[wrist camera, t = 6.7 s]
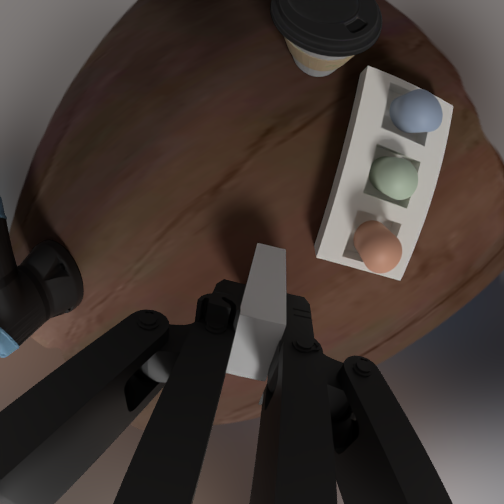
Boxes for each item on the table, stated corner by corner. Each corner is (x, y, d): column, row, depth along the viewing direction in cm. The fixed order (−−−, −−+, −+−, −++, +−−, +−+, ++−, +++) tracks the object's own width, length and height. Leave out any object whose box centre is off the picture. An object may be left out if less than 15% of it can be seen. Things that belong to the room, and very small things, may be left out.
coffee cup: (339, 100, 29) (371, 69, 15) (267, 73, 29) (250, 25, 15) (361, 43, 25) (397, -9, 12) (292, 18, 25) (289, -47, 11)
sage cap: (364, 185, 31) (375, 192, 27) (374, 151, 29) (387, 151, 25) (396, 197, 31) (411, 205, 26) (405, 163, 29) (422, 166, 25)
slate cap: (385, 124, 26) (401, 121, 22) (393, 90, 24) (409, 81, 20) (418, 139, 26) (438, 138, 21) (425, 105, 24) (445, 100, 20)
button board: (314, 246, 36) (316, 257, 33) (360, 73, 27) (367, 65, 23) (391, 268, 36) (400, 280, 32) (438, 108, 27) (453, 106, 23)
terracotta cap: (348, 250, 32) (356, 267, 28) (360, 215, 31) (371, 227, 26) (380, 260, 32) (392, 277, 28) (393, 226, 30) (408, 239, 26)
